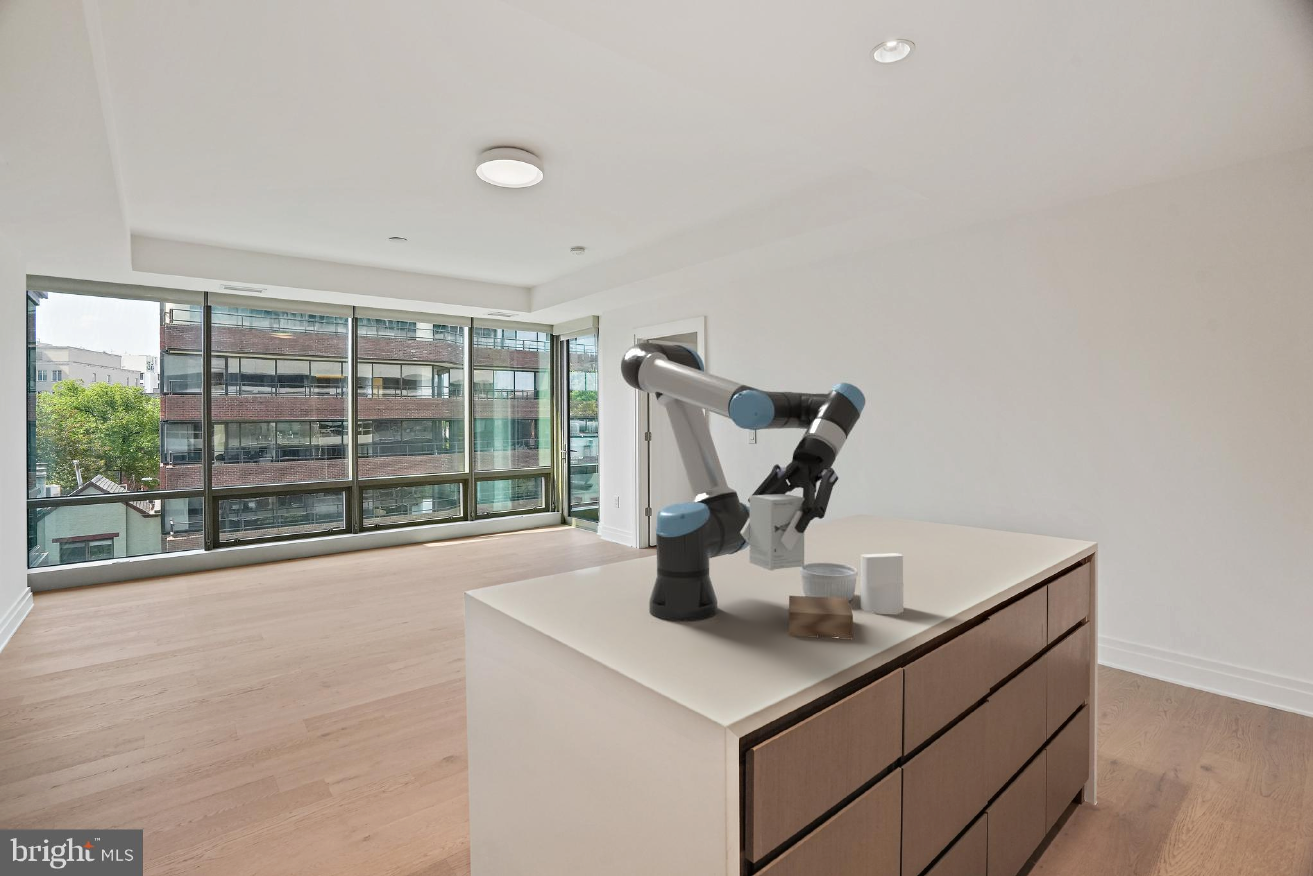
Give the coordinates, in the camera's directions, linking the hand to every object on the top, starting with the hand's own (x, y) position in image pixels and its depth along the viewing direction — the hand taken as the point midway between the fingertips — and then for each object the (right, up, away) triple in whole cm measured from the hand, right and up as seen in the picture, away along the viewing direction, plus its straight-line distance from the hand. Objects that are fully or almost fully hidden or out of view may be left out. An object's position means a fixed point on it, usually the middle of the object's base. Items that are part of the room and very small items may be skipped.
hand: (764, 541), depth 115 cm
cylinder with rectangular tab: (+31, -20, +28) cm, 46 cm away
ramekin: (+22, -20, +38) cm, 48 cm away
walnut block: (+14, -20, +16) cm, 29 cm away
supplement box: (+3, -5, +2) cm, 6 cm away
